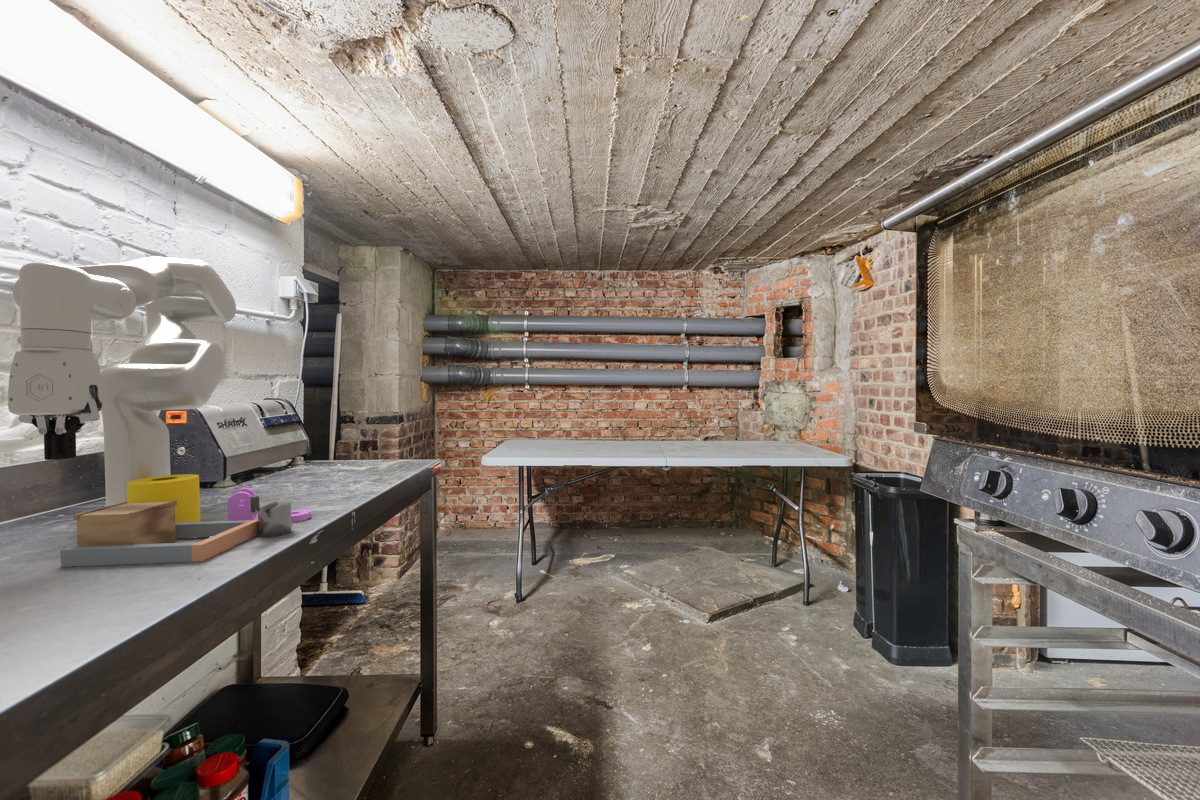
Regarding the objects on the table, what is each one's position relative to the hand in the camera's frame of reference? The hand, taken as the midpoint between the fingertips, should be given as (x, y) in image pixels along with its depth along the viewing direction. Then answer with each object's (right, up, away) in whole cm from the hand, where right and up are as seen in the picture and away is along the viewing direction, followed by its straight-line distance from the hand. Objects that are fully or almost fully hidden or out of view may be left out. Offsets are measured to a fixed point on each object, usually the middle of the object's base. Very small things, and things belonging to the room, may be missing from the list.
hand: (60, 458), depth 75 cm
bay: (+15, -15, +2) cm, 21 cm away
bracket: (+21, -15, +18) cm, 32 cm away
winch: (+27, -15, +8) cm, 32 cm away
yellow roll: (+4, -15, +14) cm, 21 cm away
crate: (+10, -15, +1) cm, 18 cm away
